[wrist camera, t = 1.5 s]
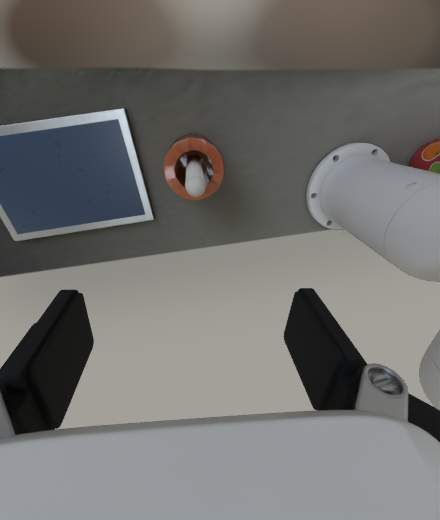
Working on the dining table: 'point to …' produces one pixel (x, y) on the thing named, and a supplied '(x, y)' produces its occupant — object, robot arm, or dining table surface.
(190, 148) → the holder
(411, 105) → the dining table surface
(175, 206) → the dining table surface
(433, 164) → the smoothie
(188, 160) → the stylus
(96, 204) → the tablet
